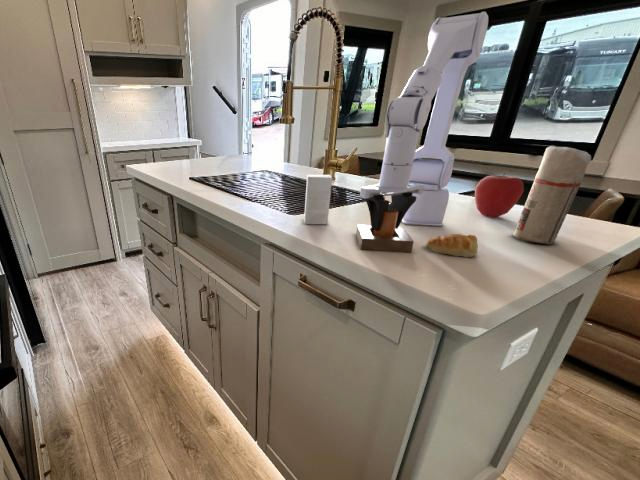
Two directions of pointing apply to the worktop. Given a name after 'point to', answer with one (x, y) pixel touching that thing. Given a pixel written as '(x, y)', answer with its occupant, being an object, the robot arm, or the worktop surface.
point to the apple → (497, 194)
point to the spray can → (552, 194)
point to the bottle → (388, 222)
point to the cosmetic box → (317, 199)
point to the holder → (384, 240)
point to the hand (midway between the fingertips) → (384, 228)
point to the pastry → (454, 245)
